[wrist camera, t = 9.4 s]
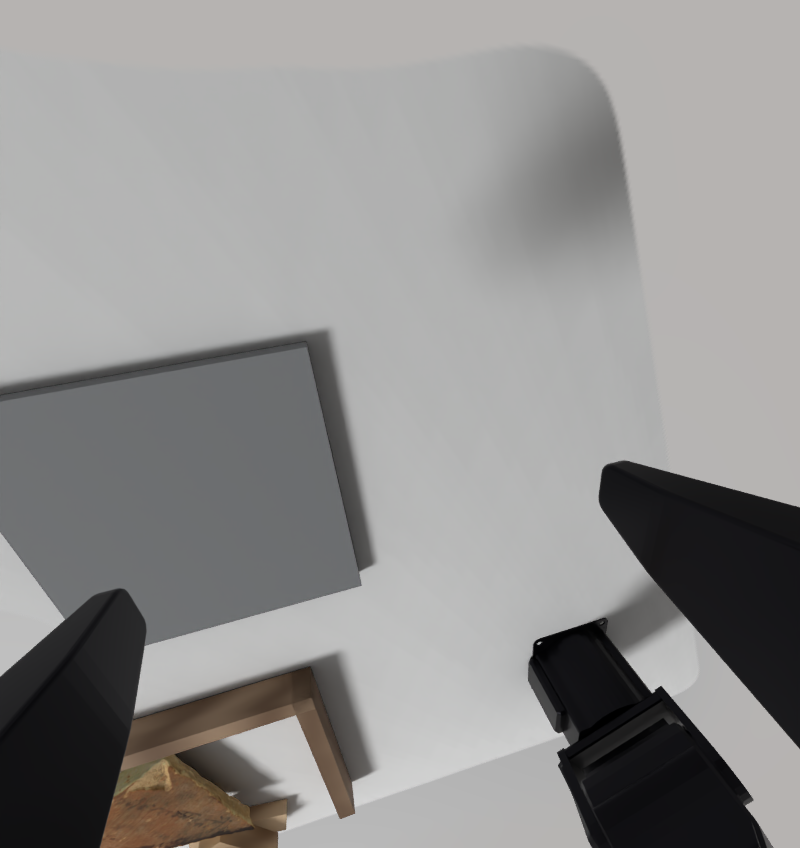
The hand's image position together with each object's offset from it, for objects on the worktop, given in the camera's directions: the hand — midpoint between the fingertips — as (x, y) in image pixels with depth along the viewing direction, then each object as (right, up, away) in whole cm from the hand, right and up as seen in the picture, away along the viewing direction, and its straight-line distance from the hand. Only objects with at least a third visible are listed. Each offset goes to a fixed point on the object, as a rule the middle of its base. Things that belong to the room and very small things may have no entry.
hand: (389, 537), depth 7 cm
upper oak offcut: (-12, -29, +23) cm, 39 cm away
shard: (-12, -22, +23) cm, 34 cm away
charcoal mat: (-10, -2, +12) cm, 16 cm away
